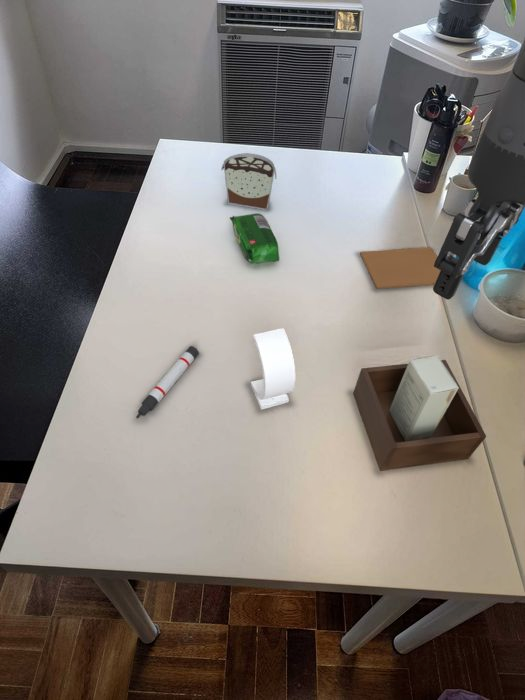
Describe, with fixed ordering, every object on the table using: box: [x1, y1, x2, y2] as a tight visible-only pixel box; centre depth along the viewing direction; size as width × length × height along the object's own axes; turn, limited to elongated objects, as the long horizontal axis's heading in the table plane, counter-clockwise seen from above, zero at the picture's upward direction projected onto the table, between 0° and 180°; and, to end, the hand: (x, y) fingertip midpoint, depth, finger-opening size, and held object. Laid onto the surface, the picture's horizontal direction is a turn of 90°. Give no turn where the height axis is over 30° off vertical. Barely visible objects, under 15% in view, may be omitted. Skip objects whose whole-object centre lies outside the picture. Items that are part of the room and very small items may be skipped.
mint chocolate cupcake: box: [221, 152, 277, 211], centre depth 107 cm, size 12×6×10 cm, turn 77°
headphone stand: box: [250, 327, 296, 410], centre depth 70 cm, size 5×6×12 cm
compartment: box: [352, 359, 487, 472], centre depth 70 cm, size 14×14×7 cm
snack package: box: [229, 212, 280, 265], centre depth 97 cm, size 7×16×5 cm, turn 17°
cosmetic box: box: [389, 354, 459, 441], centre depth 67 cm, size 6×4×12 cm
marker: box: [135, 345, 200, 419], centre depth 74 cm, size 15×2×2 cm, turn 152°
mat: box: [359, 246, 441, 290], centre depth 97 cm, size 16×11×1 cm
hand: (461, 277), depth 53 cm, fingers open, 8 cm apart
